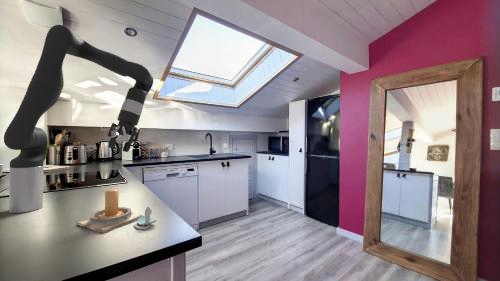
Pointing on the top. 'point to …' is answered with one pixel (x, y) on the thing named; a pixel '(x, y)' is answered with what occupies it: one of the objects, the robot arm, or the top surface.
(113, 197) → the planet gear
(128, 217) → the carrier plate
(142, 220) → the pacifier
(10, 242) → the top surface
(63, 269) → the top surface
